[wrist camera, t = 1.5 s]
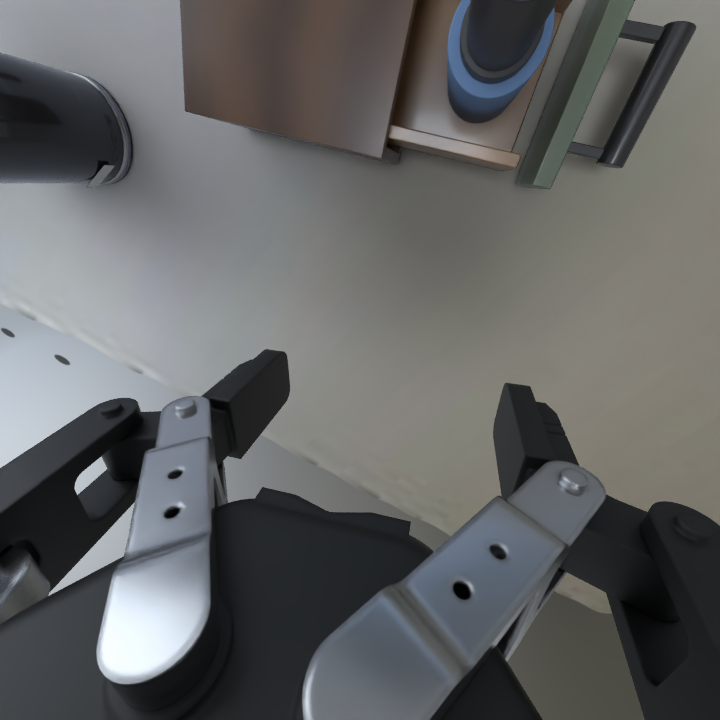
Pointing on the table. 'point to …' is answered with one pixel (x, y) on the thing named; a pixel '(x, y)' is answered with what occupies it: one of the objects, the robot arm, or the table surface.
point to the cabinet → (299, 68)
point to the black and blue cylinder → (495, 53)
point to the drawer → (564, 107)
